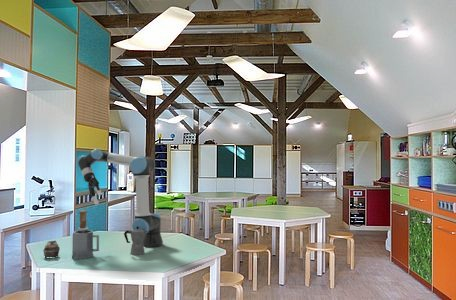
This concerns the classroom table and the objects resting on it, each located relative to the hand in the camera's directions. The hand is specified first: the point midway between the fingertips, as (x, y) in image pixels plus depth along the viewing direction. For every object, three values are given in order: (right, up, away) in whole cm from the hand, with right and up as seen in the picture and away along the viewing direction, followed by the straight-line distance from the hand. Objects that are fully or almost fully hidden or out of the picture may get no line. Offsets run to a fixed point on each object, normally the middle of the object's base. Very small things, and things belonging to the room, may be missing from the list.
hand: (98, 199), depth 273 cm
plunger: (-2, -28, -24) cm, 37 cm away
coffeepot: (+30, -34, -16) cm, 48 cm away
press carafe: (-1, -34, -24) cm, 42 cm away
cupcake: (-22, -34, -24) cm, 47 cm away
